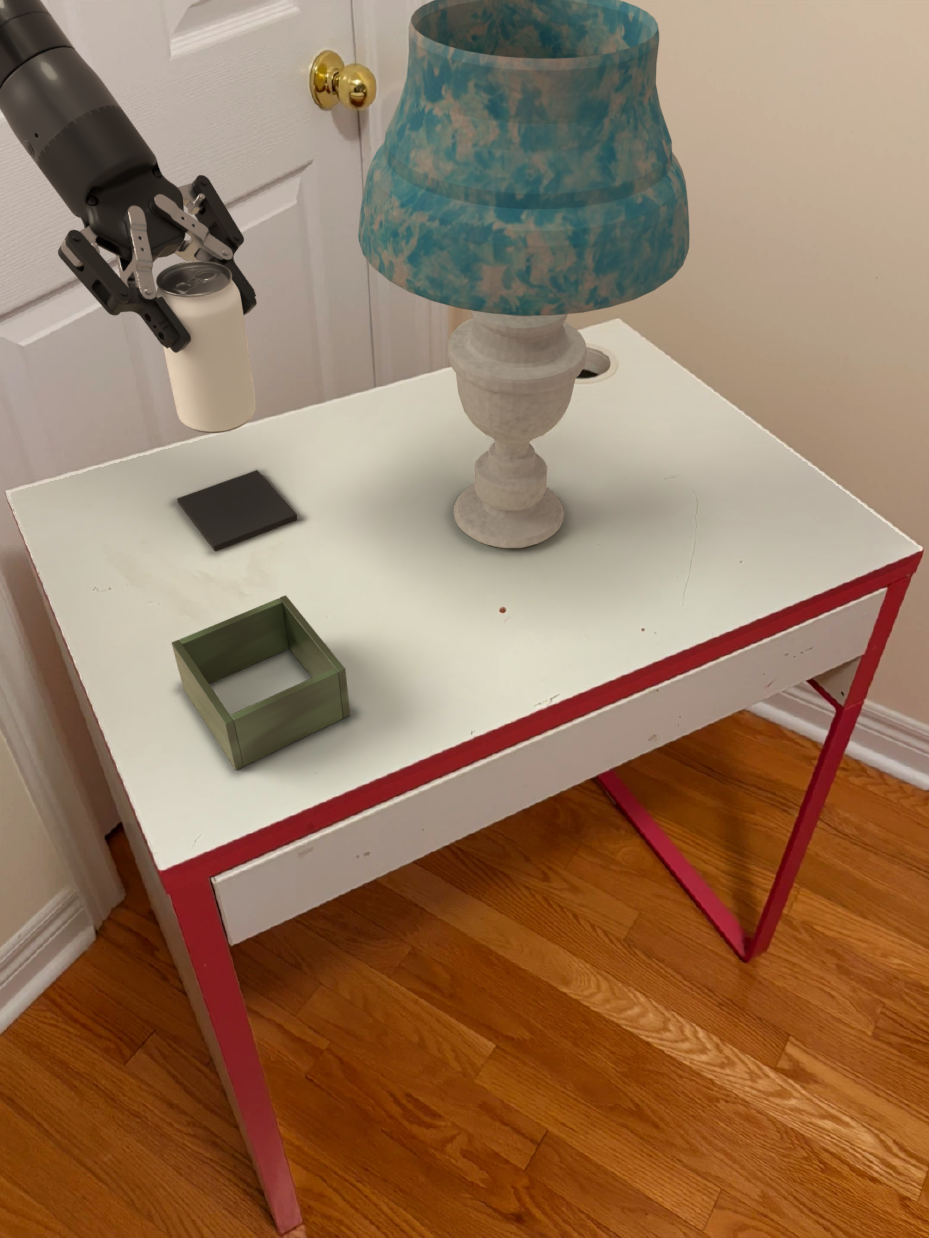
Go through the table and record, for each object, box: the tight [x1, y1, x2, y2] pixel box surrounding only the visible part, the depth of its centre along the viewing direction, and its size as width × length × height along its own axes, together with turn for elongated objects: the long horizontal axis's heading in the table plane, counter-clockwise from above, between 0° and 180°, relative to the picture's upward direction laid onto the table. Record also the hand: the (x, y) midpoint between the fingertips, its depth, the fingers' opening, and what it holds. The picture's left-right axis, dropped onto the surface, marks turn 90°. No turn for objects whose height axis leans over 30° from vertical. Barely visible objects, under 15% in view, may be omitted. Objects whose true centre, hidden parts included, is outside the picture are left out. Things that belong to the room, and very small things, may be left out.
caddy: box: [171, 594, 351, 771], centre depth 76 cm, size 9×9×5 cm
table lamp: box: [357, 0, 691, 549], centre depth 80 cm, size 24×24×40 cm
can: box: [155, 260, 257, 434], centre depth 83 cm, size 6×6×12 cm
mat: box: [176, 469, 298, 552], centre depth 94 cm, size 8×8×1 cm
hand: (217, 327), depth 81 cm, fingers closed on can, 6 cm apart
